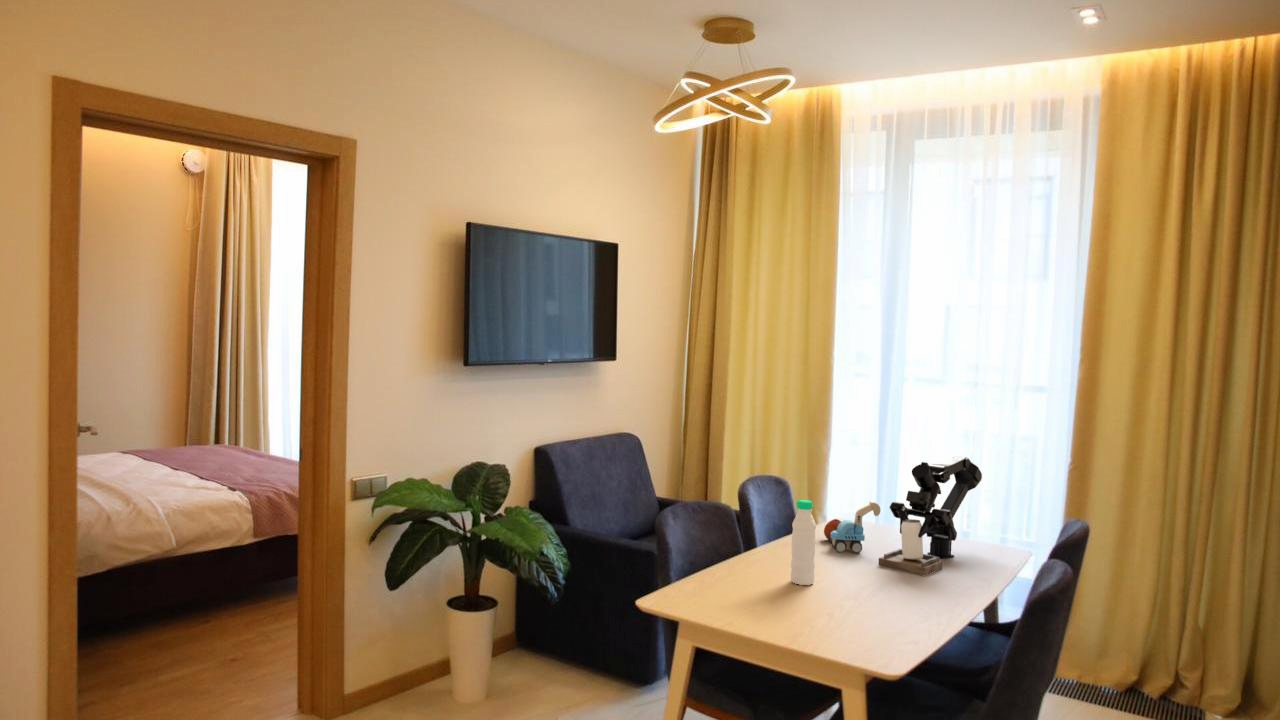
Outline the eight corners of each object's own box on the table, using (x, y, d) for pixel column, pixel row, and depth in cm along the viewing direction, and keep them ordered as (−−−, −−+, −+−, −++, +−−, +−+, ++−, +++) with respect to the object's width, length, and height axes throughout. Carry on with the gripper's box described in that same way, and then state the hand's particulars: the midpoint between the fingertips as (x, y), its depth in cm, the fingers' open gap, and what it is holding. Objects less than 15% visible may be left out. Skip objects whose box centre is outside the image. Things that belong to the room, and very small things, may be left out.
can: (919, 560, 291) (918, 522, 291) (899, 558, 294) (898, 521, 294) (925, 556, 296) (924, 519, 296) (905, 555, 300) (904, 518, 300)
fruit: (843, 545, 323) (844, 523, 322) (820, 541, 328) (821, 519, 327) (852, 541, 330) (853, 519, 330) (829, 537, 335) (830, 515, 335)
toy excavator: (881, 554, 312) (883, 504, 311) (832, 553, 312) (834, 503, 311) (875, 548, 320) (877, 499, 320) (828, 546, 321) (829, 498, 320)
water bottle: (818, 583, 275) (821, 501, 274) (805, 587, 270) (808, 504, 269) (798, 578, 280) (801, 497, 279) (785, 582, 275) (788, 500, 274)
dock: (896, 559, 305) (896, 548, 305) (941, 569, 294) (942, 557, 294) (878, 565, 297) (878, 554, 297) (924, 576, 286) (924, 564, 286)
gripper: (893, 477, 304) (875, 515, 296) (946, 485, 291) (929, 525, 284) (903, 497, 310) (886, 535, 303) (956, 506, 297) (940, 545, 290)
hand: (909, 535), depth 294 cm, fingers closed on can, 6 cm apart
